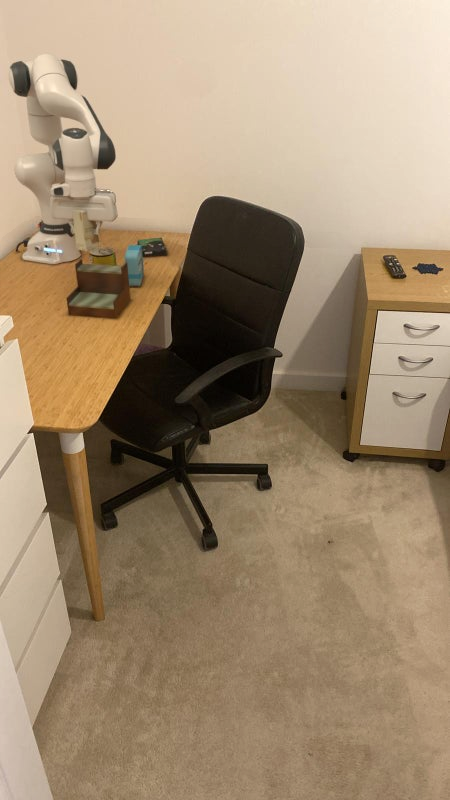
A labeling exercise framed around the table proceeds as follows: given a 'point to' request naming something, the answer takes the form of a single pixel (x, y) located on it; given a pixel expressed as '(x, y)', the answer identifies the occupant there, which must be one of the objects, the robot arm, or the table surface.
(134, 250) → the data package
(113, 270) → the step shelf
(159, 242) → the disk drive
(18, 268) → the table surface
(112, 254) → the beverage can
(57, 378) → the table surface
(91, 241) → the cosmetic box
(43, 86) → the robot arm
